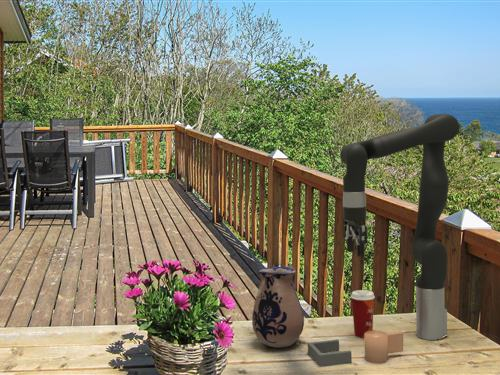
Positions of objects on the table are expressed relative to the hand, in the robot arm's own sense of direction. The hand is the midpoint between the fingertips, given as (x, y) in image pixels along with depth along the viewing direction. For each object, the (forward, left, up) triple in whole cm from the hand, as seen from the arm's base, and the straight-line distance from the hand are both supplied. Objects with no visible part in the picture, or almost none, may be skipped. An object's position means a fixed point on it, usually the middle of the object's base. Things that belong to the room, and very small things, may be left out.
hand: (355, 253), depth 195 cm
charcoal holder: (+13, +10, -30) cm, 34 cm away
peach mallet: (-3, +15, -30) cm, 34 cm away
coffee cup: (-5, -6, -30) cm, 31 cm away
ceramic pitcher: (+24, -9, -30) cm, 40 cm away
